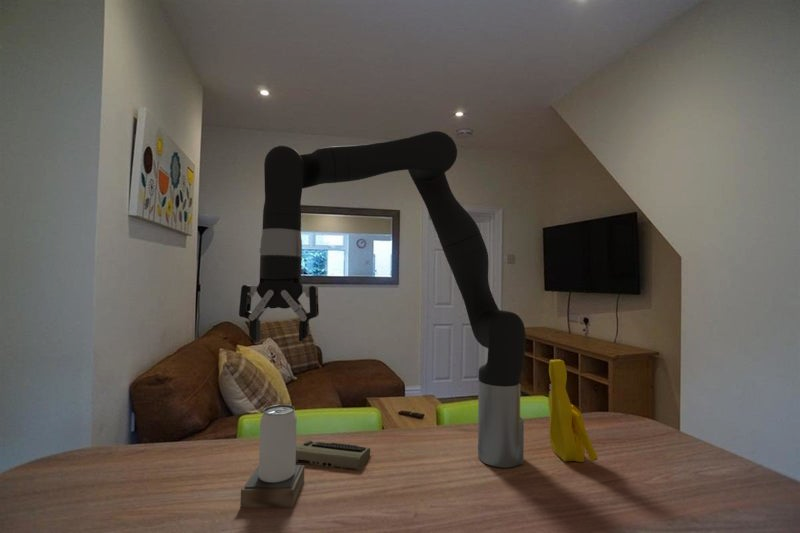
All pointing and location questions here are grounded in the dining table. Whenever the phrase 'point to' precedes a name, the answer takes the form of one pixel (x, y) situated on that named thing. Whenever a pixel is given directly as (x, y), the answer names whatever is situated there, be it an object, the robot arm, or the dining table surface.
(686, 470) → the dining table surface
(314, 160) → the robot arm
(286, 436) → the can
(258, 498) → the stand
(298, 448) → the computer
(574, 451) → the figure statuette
